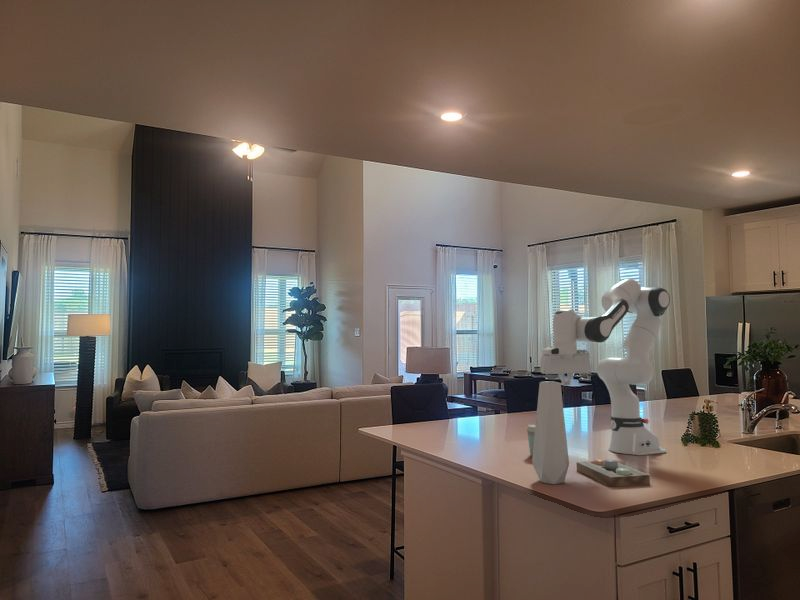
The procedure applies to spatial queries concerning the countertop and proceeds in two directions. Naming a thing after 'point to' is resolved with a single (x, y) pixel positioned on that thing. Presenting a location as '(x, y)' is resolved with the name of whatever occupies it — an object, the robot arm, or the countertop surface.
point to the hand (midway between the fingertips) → (566, 385)
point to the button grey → (610, 464)
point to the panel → (613, 474)
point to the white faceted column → (550, 435)
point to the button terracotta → (598, 461)
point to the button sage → (622, 471)
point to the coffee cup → (531, 437)
